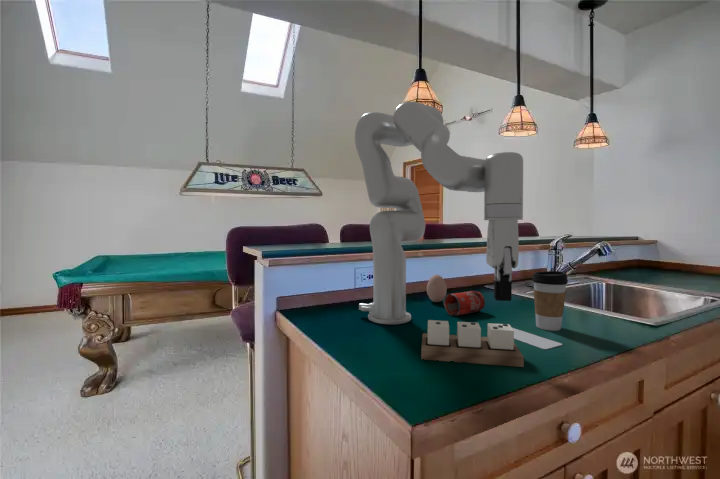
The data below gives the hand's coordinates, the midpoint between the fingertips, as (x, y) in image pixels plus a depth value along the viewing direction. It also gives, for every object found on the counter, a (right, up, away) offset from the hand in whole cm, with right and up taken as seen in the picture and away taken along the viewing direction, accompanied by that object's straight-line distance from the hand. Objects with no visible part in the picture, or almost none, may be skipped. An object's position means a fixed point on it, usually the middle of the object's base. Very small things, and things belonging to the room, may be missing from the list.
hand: (502, 299), depth 75 cm
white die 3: (0, -10, +1) cm, 10 cm away
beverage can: (+2, -10, +35) cm, 37 cm away
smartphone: (+11, -12, +12) cm, 20 cm away
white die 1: (-13, -10, +4) cm, 17 cm away
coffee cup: (+21, -11, +20) cm, 31 cm away
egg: (-3, -9, +49) cm, 50 cm away
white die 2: (-7, -10, +2) cm, 12 cm away
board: (-7, -12, +2) cm, 14 cm away
